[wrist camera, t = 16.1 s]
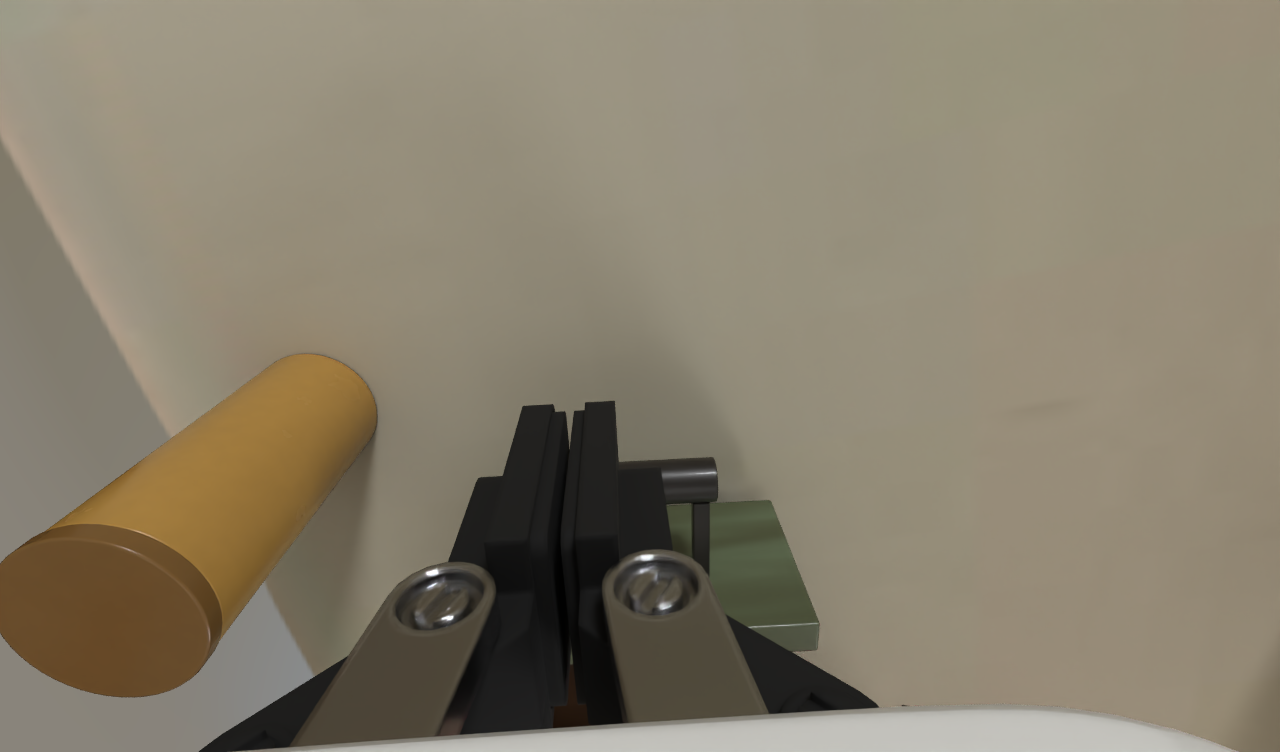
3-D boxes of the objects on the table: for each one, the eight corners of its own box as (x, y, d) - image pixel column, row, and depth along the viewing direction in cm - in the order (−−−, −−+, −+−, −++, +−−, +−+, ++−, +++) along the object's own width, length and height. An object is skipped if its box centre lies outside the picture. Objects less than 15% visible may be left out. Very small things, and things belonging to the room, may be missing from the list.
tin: (265, 334, 25) (-13, 512, 14) (391, 376, 25) (223, 574, 15) (246, 438, 26) (-15, 670, 15) (364, 474, 27) (196, 717, 16)
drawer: (446, 416, 25) (386, 524, 19) (775, 399, 25) (832, 500, 19) (502, 734, 32) (473, 896, 26) (760, 719, 33) (797, 875, 26)
